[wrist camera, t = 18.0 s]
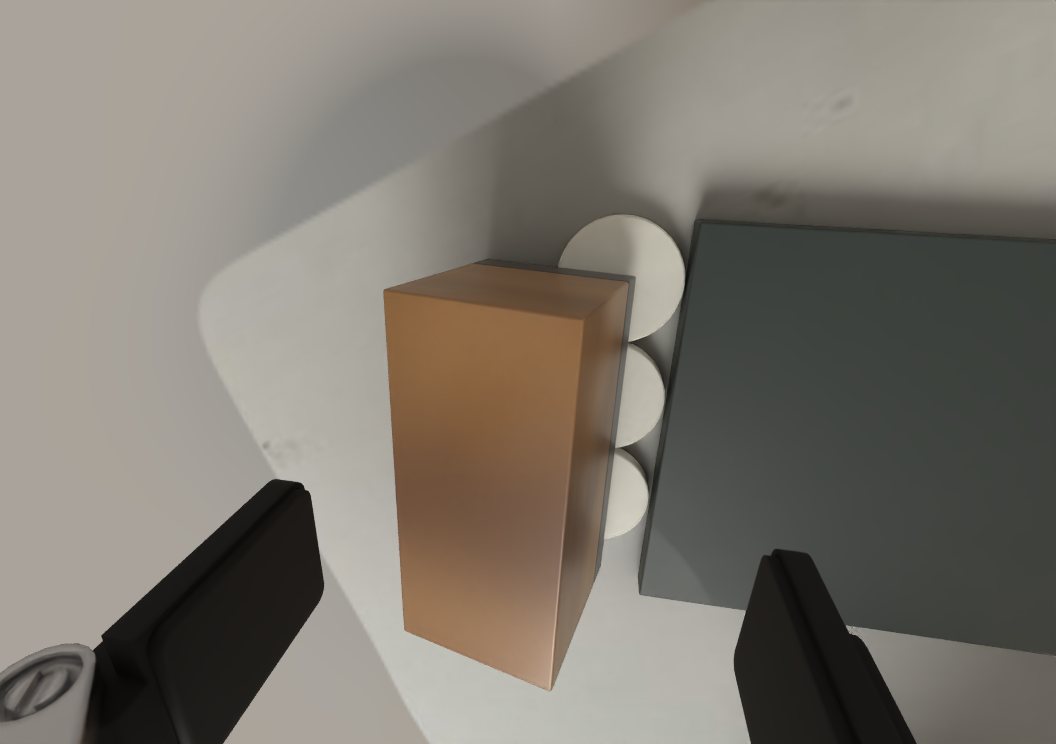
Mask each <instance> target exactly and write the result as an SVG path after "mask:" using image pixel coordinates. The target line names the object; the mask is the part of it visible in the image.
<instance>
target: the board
mask: <svg viewBox="0 0 1056 744" xmlns="http://www.w3.org/2000/svg"><path fill="white" fill-rule="evenodd" d="M774 549H783V550H790V551H797V552H804V553H808V554H809V555H810V556H811V558H812V559H813V561H814V563H815V565H816V567H817V569H818V572H819V574H820V576H821V578H822V580H823V582H824V584H825V586H826V588H827V590H828V592H829V594H830V596H831V598H832V600H833V602H834V604H835V606H836V608H837V610H838V612H839V614H840V616H841V618H842V620H843V622H844V624H845V625H849V626H856V627H862V628H869V629H876V630H883V631H890V632H896V633H903V634H910V635H917V636H924V637H931V638H937V639H944V640H951V641H958V642H965V643H971V644H978V645H985V646H992V647H999V648H1006V649H1012V650H1019V651H1026V652H1033V653H1040V654H1046V655H1053V656H1056V240H1053V239H1036V238H1019V237H1001V236H984V235H966V234H949V233H931V232H914V231H896V230H879V229H861V228H844V227H826V226H809V225H791V224H774V223H756V222H739V221H721V220H704V219H697V220H695V223H694V229H693V236H692V242H691V248H690V254H689V260H688V267H687V273H686V279H685V287H684V292H683V298H682V304H681V310H680V317H679V323H678V329H677V335H676V342H675V348H674V354H673V360H672V367H671V373H670V379H669V385H668V392H667V398H666V404H665V410H664V417H663V423H662V429H661V435H660V442H659V448H658V454H657V460H656V467H655V473H654V479H653V485H652V492H651V498H650V504H649V510H648V517H647V523H646V529H645V535H644V542H643V548H642V554H641V560H640V567H639V573H638V585H639V594H640V595H644V596H651V597H658V598H665V599H671V600H678V601H685V602H692V603H699V604H706V605H712V606H719V607H726V608H733V609H740V610H747V607H748V603H749V600H750V596H751V593H752V589H753V586H754V582H755V578H756V575H757V571H758V568H759V564H760V561H761V558H762V556H763V555H769V556H771V554H772V551H773V550H774Z"/></svg>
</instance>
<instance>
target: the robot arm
mask: <svg viewBox="0 0 1056 744" xmlns="http://www.w3.org/2000/svg"><path fill="white" fill-rule="evenodd" d="M323 590H324V580H323V573H322V567H321V560H320V554H319V547H318V540H317V534H316V527H315V521H314V514H313V507H312V501H311V495H310V493H309V491H307V490H305V489H304V486H303V485H302V483H299V482H293V481H286V480H279V479H274V480H271V481H270V482H268V483H267V484H266V485H265V486H264V487H263V488H262V489H261V490H260V491H258V492H257V493H256V494H255V495H254V496H253V497H252V498H251V499H250V500H249V501H248V502H247V503H245V504H244V505H243V506H242V507H241V508H240V509H239V510H238V511H237V512H236V513H234V514H233V515H232V516H231V517H230V518H229V519H228V520H227V521H226V522H225V523H224V524H222V525H221V526H220V527H219V528H218V529H217V530H216V531H215V532H214V533H213V534H212V535H211V536H209V537H208V538H207V539H206V540H205V541H204V542H203V543H202V544H201V545H200V546H198V547H197V548H196V549H195V550H194V551H193V552H192V553H191V554H190V555H189V556H188V557H186V558H185V559H184V560H183V561H182V562H181V563H180V564H179V565H178V566H177V567H176V568H175V569H173V570H172V571H171V572H170V573H169V574H168V575H167V576H166V577H165V578H164V579H162V580H161V581H160V582H159V583H158V584H157V585H156V586H155V587H154V588H153V589H152V590H150V591H149V592H148V593H147V594H146V595H145V596H144V597H143V598H142V599H141V600H140V601H138V602H137V603H136V604H135V605H134V606H133V607H132V608H131V609H130V610H129V611H128V612H126V613H125V614H124V615H123V616H122V617H121V618H120V619H119V620H118V621H117V622H116V623H115V624H114V625H112V626H111V627H110V628H109V629H108V630H107V631H106V632H105V633H104V634H103V635H102V639H103V642H101V643H100V644H99V645H98V646H97V647H96V648H95V649H94V650H93V651H92V650H91V649H90V648H89V647H88V646H85V645H82V644H78V643H77V644H76V643H75V644H61V645H57V646H53V647H49V648H45V649H43V650H40V651H38V652H35V653H33V654H31V655H28V656H26V657H24V658H23V659H21V660H19V661H18V662H16V663H14V664H12V665H11V666H9V667H8V668H6V669H5V670H4V671H2V672H1V673H0V744H223V743H224V741H225V740H226V739H227V737H228V736H229V734H230V732H231V731H232V730H233V728H234V727H235V725H236V724H237V722H238V721H239V719H240V717H241V716H242V715H243V713H244V712H245V711H246V709H247V708H248V706H249V705H250V703H251V701H252V700H253V699H254V697H255V696H256V694H257V693H258V691H259V690H260V688H261V687H262V685H263V684H264V683H265V681H266V680H267V678H268V676H269V675H270V674H271V672H272V671H273V669H274V668H275V666H276V665H277V663H278V662H279V660H280V659H281V657H282V656H283V655H284V653H285V652H286V650H287V649H288V647H289V646H290V644H291V643H292V641H293V640H294V638H295V637H296V635H297V634H298V632H299V631H300V629H301V628H302V626H303V625H304V623H305V622H306V621H307V619H308V618H309V616H310V615H311V613H312V612H313V610H314V609H315V607H316V606H317V604H318V603H319V601H320V599H321V597H322V594H323ZM734 671H735V676H736V681H737V685H738V689H739V693H740V698H741V702H742V706H743V711H744V715H745V719H746V724H747V728H748V732H749V737H750V741H751V744H917V743H916V741H915V739H914V737H913V736H912V734H911V732H910V730H909V728H908V726H907V724H906V722H905V720H904V718H903V716H902V714H901V712H900V710H899V708H898V706H897V705H896V703H895V701H894V699H893V697H892V695H891V693H890V691H889V689H888V687H887V685H886V683H885V681H884V679H883V677H882V676H881V674H880V672H879V670H878V668H877V666H876V664H875V662H874V660H873V658H872V656H871V654H870V652H869V650H868V649H867V647H866V645H865V644H864V642H863V641H862V640H861V639H860V638H859V637H858V636H856V635H852V634H849V632H848V630H847V628H846V626H845V624H844V622H843V620H842V618H841V616H840V614H839V612H838V610H837V608H836V606H835V604H834V602H833V600H832V598H831V596H830V594H829V592H828V590H827V588H826V586H825V584H824V582H823V580H822V578H821V576H820V574H819V572H818V569H817V567H816V565H815V563H814V561H813V559H812V558H811V556H810V555H809V554H808V553H804V552H797V551H790V550H783V549H774V550H773V551H772V554H771V556H769V555H763V556H762V558H761V561H760V564H759V568H758V571H757V575H756V578H755V582H754V586H753V589H752V593H751V596H750V600H749V603H748V607H747V610H746V614H745V617H744V621H743V624H742V628H741V631H740V635H739V638H738V642H737V646H736V649H735V653H734Z"/></svg>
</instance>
